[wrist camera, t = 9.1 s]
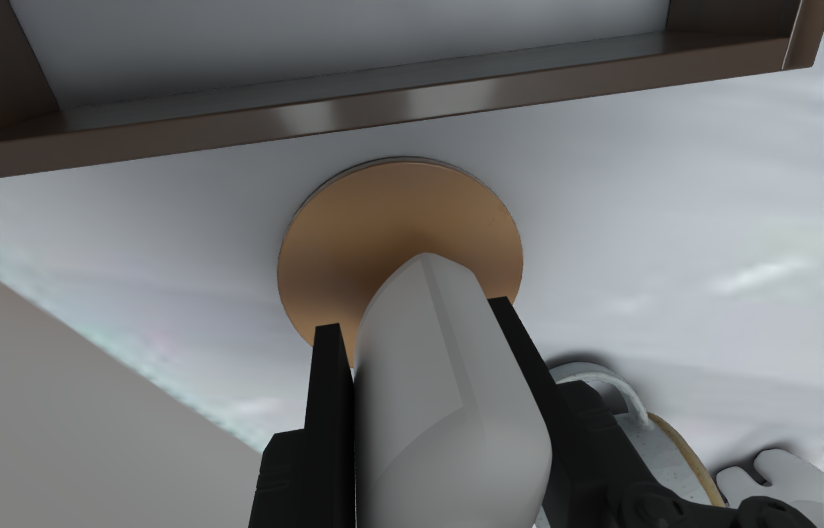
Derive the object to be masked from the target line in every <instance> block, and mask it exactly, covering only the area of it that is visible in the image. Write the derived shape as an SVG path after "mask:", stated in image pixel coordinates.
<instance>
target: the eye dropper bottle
mask: <svg viewBox="0 0 824 528" xmlns="http://www.w3.org/2000/svg"><path fill="white" fill-rule="evenodd" d="M354 426H355V487H356V520H357V528H532V527H533V524H534V522H535V520H536V518H537V515H538V513H539V510H540V507H541V505H542V501H543V498H544V495H545V492H546V488H547V484H548V480H549V475H550V470H551V463H552V447H551V441H550V437H549V434H548V431H547V427H546V424H545V422H544V420H543V417H542V415H541V413H540V411H539V409H538V406H537V404H536V402H535V400H534V397H533V395H532V393H531V391H530V388H529V386H528V384H527V382H526V380H525V378H524V376H523V374H522V372H521V370H520V367H519V365H518V363H517V361H516V359H515V357H514V355H513V353H512V351H511V349H510V347H509V344H508V342H507V340H506V338H505V336H504V334H503V332H502V330H501V328H500V326H499V324H498V322H497V320H496V318H495V315H494V313H493V311H492V309H491V307H490V305H489V303H488V301H487V299H486V297H485V295H484V293H483V291H482V289H481V287H480V285H479V283H478V281H477V279H476V277H475V275H474V273H473V272H472V271H470V270H469V269H468V268H466V267H464V266H462V265H460V264H458V263H456V262H454V261H451V260H449V259H447V258H444V257H442V256H439V255H437V254H434V253H427V252H424V253H421V254H418V255H415V256H414V257H412V258H411V259H409V260H408V261H407V262H405V263H404V264H403V265H402V266H401V267H399V268H398V269H397V270H396V271H395V272H394V273H393V274H392V275H391V276H390V277H389V278H388V279H387V280H386V281H385V282H384V283H383V284H382V286H381V287H380V288H379V289H378V291H377V292H376V294H375V295H374V296H373V298H372V300H371V301H370V303H369V305H368V306H367V308H366V310H365V313H364V315H363V317H362V320H361V322H360V325H359V329H358V332H357V337H356V342H355V349H354Z"/></svg>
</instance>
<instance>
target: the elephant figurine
mask: <svg viewBox="0 0 824 528" xmlns="http://www.w3.org/2000/svg"><path fill="white" fill-rule="evenodd" d="M754 468H755V469H756V470H757V472H758V473H759V474H760V475H761V476H763V477H764V478H765V479H766V480H767V482H765V483H764V484H763V485H762V486H761V485H759V484H758V483H756V482H755V481H754V480H753V479H752V478H751V477H750V476H749V475H748V474H747V473H746V472H745V471H744V470H743V469H741V468H740V467H736V466H734V467H730V468H727V469H724V470H722V471H721V472H719V473H718V474H717V477H716V480H717V486H718V488H719V489H720V490H721V492H722V493H723V494H724V496H725V497H726V498H727V500H728V502H727V503H726V504H725V506H726V508H734V509H738V507H739V505H740V503H741V501H742V500H744V499H746V498H748V497H750V496H768V497H771V498H775V499H778V500H781V501H783V502H785V503H787V504H789V505H790V506H792V507H794V508H796V509H798V510H799V511H800V512H801V513H802V514H803V515H805V516H806V517H807V518H808V519H809V520H810V521H812V522H813V524H814V525H815V526H816V527H817V528H824V472H823V471H821V470H820V469H818V468H817V467H815V466H814V465H812V464H810V463H808V462H806V461H804V460H802V459H800V458H798V457H796V456H794V455H792V454H790V453H788V452H786V451H784V450H781V449H772V450H766V451H762V452H761V453H760V454H759V455H758V456H757V457H756V459H755V461H754Z"/></svg>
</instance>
